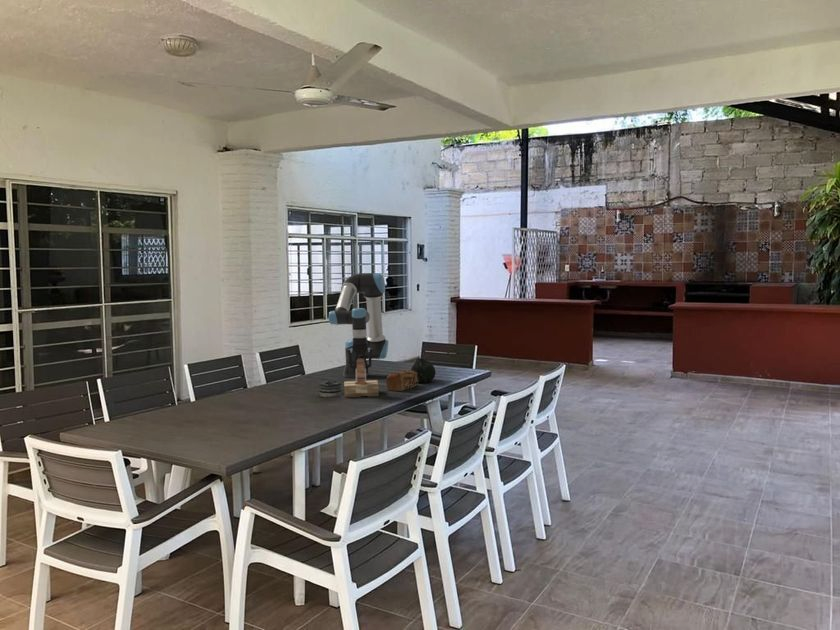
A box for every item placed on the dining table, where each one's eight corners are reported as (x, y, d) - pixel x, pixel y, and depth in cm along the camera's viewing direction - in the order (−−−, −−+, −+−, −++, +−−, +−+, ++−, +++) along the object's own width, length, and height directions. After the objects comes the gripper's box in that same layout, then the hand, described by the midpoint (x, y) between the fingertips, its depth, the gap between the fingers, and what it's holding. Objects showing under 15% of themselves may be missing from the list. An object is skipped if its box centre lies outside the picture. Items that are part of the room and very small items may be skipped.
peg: (357, 384, 356) (356, 358, 354) (364, 384, 356) (364, 358, 355) (357, 385, 351) (356, 360, 350) (365, 385, 352) (364, 359, 351)
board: (344, 392, 360) (344, 381, 360) (377, 390, 362) (377, 380, 362) (344, 397, 346) (344, 386, 346) (378, 395, 348) (378, 384, 348)
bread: (401, 392, 358) (401, 374, 357) (385, 390, 363) (385, 372, 362) (419, 386, 374) (419, 368, 373) (403, 384, 379) (403, 367, 378)
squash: (439, 370, 392) (422, 351, 391) (440, 375, 377) (422, 356, 376) (422, 385, 393) (405, 367, 392) (422, 392, 379) (404, 373, 377)
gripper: (343, 338, 347) (345, 382, 349) (376, 337, 349) (377, 380, 351) (343, 336, 354) (344, 379, 356) (375, 335, 356) (376, 378, 358)
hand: (360, 380), depth 354 cm, fingers closed on peg, 4 cm apart
